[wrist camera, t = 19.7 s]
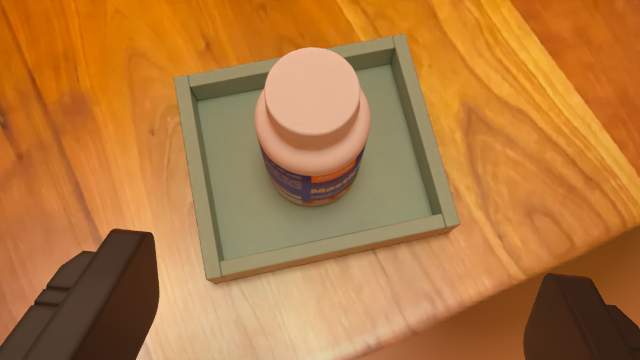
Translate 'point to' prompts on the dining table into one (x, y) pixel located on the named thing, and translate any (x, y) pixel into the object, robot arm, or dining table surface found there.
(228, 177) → the tray
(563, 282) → the robot arm
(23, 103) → the dining table surface
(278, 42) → the dining table surface
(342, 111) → the pill bottle
